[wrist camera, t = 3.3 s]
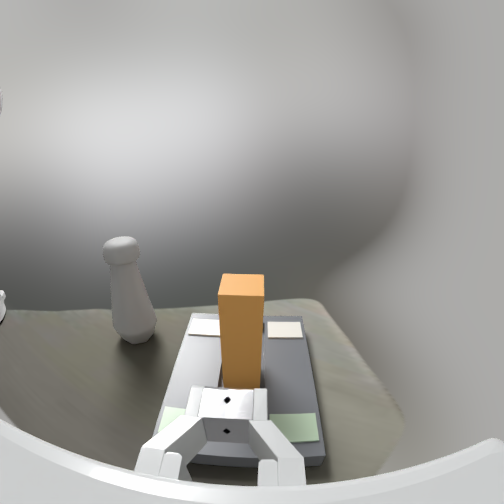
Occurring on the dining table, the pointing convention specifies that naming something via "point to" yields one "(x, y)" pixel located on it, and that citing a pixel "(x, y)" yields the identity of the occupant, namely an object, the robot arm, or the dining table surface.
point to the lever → (241, 329)
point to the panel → (271, 378)
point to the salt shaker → (128, 291)
